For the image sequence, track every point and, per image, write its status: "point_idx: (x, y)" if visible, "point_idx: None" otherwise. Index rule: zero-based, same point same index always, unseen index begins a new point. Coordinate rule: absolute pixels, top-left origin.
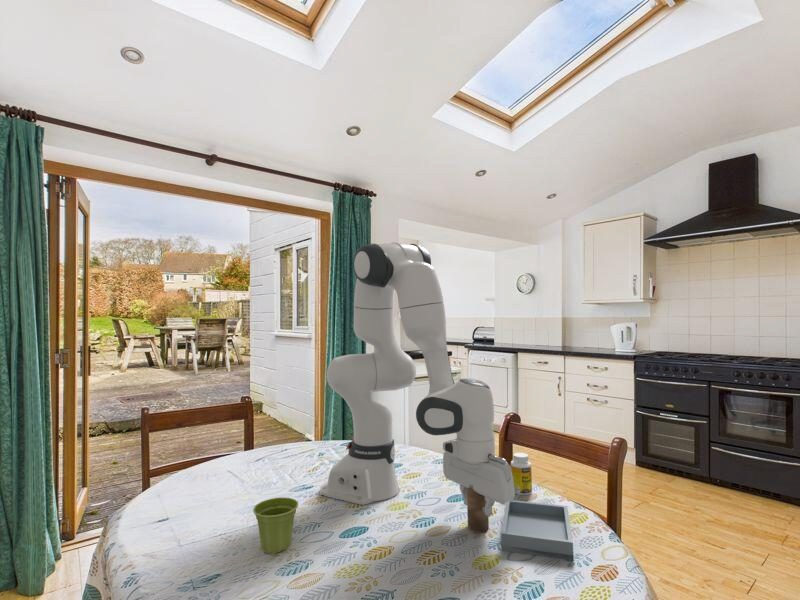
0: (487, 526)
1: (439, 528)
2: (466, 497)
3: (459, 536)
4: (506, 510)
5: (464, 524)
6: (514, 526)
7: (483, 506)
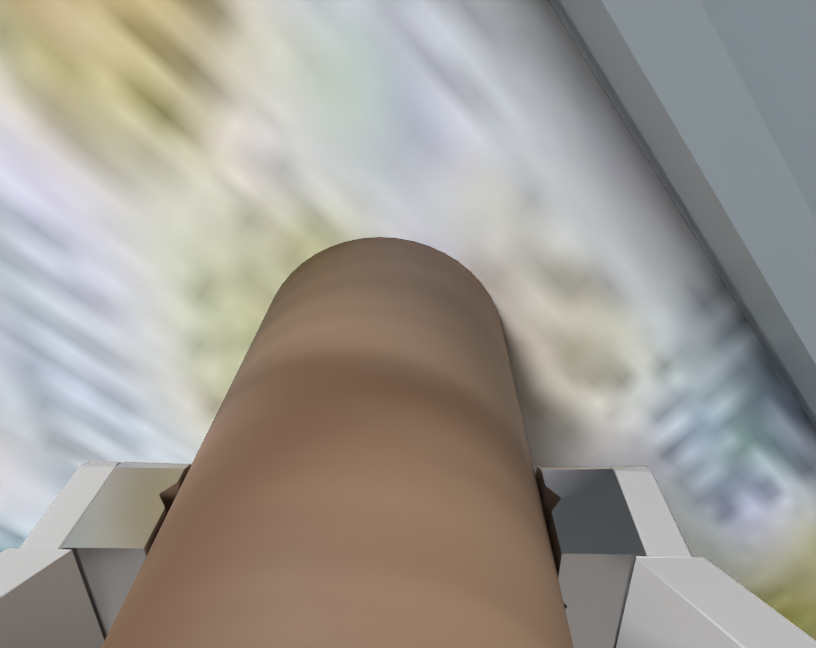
0: (503, 339)
1: None
2: (107, 630)
3: None
4: (669, 44)
5: None
6: (793, 65)
7: (574, 645)
